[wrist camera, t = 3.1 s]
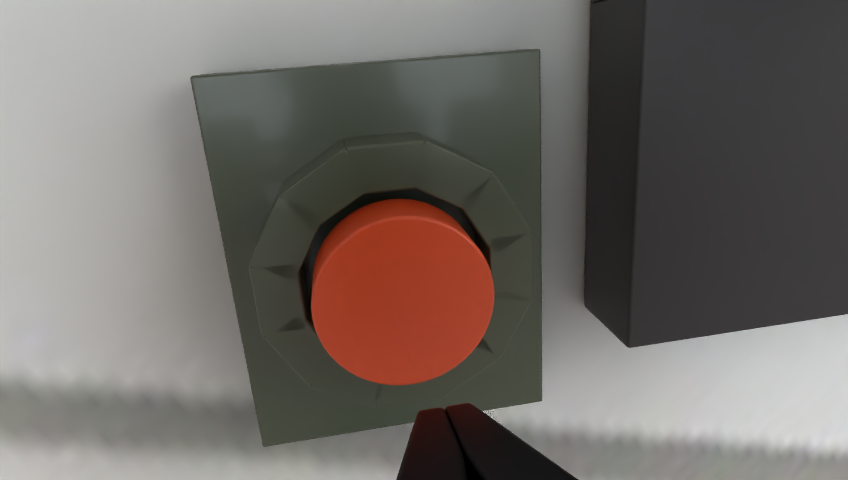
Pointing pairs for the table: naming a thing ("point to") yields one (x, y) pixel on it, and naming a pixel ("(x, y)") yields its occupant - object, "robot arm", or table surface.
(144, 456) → the table surface
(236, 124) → the button block
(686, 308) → the grinder base
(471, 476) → the robot arm
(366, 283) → the release button
